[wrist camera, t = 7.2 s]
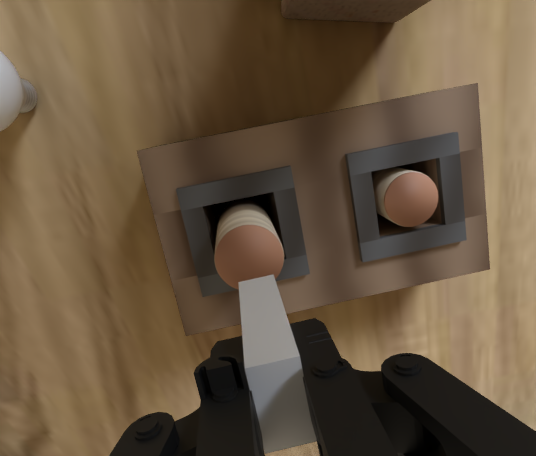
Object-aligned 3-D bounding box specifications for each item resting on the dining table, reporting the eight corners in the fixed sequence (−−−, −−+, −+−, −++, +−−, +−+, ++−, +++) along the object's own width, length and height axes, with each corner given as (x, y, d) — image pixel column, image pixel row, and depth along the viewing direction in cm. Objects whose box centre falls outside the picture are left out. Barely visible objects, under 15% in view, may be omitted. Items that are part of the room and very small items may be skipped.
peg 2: (360, 156, 37) (397, 163, 29) (400, 170, 38) (447, 182, 30) (343, 198, 38) (375, 217, 30) (383, 211, 39) (425, 234, 30)
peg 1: (227, 192, 31) (226, 215, 23) (277, 208, 32) (294, 236, 24) (211, 241, 32) (205, 280, 24) (260, 256, 33) (271, 299, 24)
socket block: (194, 295, 39) (185, 339, 31) (156, 146, 36) (134, 151, 28) (439, 242, 40) (494, 271, 32) (425, 92, 37) (482, 82, 29)
